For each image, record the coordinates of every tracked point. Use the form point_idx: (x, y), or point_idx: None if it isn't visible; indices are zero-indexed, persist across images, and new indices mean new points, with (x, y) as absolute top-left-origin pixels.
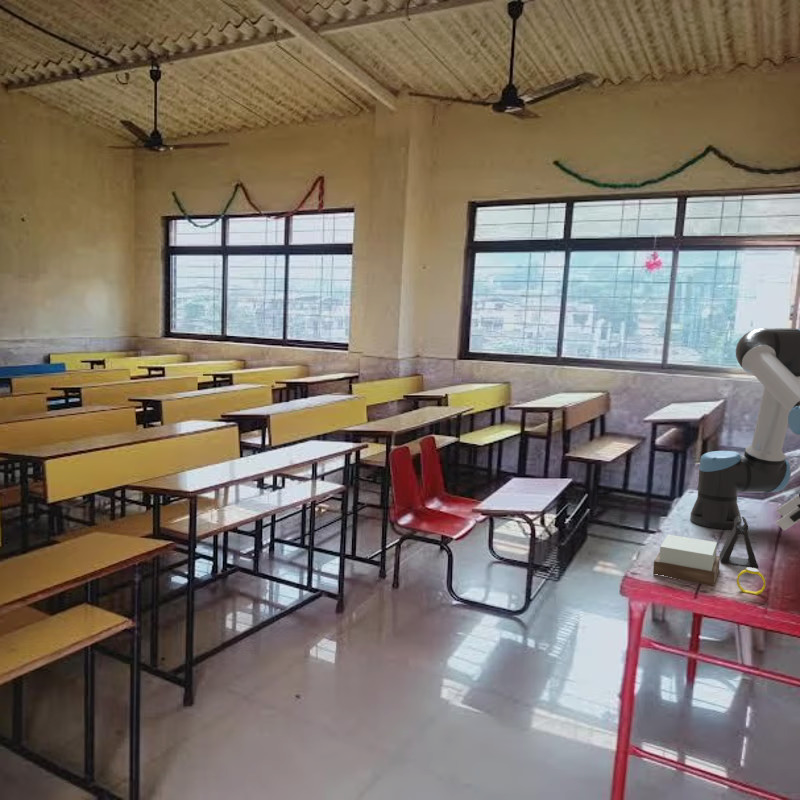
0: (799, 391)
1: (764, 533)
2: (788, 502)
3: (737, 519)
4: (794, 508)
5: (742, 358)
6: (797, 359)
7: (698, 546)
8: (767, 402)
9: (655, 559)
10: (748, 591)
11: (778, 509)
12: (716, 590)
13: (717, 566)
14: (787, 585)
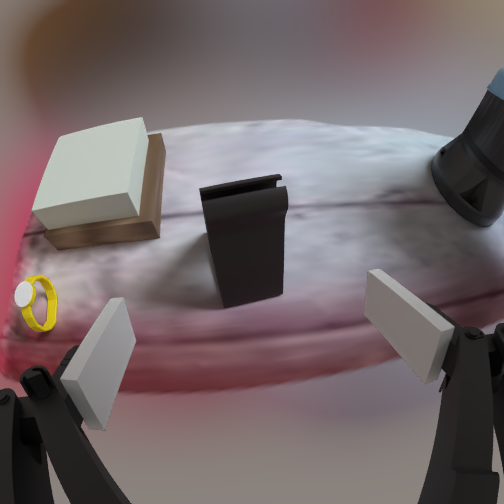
0: None
1: (487, 268)
2: (402, 300)
3: (240, 180)
4: (396, 339)
5: None
6: None
7: (77, 174)
8: None
9: None
10: (50, 306)
11: (371, 275)
12: (42, 257)
13: (102, 231)
14: (133, 381)
